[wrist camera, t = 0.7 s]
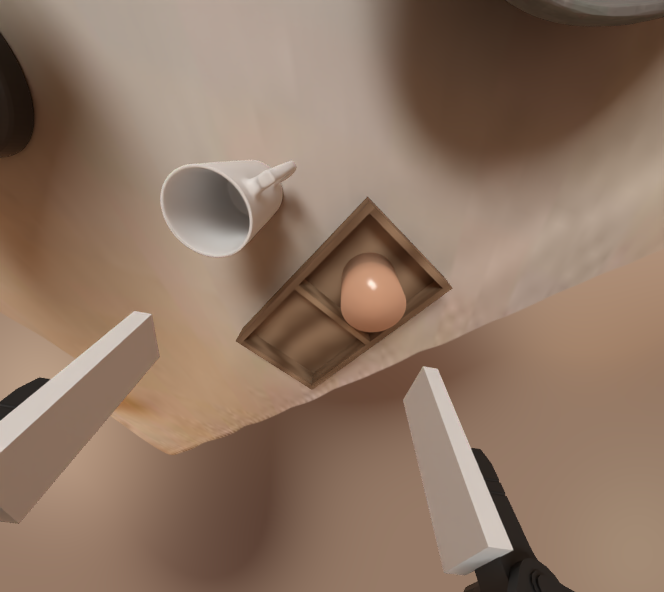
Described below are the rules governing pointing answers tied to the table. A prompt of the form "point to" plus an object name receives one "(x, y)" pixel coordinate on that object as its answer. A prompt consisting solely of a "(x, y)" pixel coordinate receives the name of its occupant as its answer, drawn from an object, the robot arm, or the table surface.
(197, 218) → the mug
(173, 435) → the table surface
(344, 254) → the divided wooden tray
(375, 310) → the brown egg
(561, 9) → the bowl
